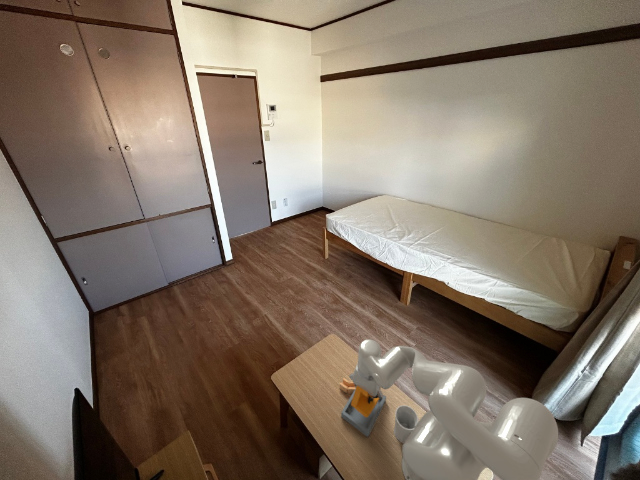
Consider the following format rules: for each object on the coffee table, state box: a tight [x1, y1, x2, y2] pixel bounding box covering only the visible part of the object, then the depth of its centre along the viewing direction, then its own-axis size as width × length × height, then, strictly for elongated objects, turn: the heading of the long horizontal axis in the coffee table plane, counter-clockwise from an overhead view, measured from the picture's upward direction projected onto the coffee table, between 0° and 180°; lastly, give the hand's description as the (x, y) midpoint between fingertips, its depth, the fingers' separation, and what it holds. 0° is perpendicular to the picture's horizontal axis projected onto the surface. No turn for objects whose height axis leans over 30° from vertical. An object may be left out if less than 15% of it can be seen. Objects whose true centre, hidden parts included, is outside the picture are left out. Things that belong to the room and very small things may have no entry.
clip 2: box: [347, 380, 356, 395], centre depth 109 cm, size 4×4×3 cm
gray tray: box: [340, 389, 387, 438], centre depth 102 cm, size 12×16×4 cm
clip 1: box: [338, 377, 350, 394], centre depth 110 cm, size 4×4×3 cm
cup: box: [393, 404, 420, 444], centre depth 92 cm, size 8×8×12 cm
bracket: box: [351, 386, 380, 417], centre depth 96 cm, size 11×7×12 cm, turn 138°
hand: (364, 395), depth 98 cm, fingers closed on bracket, 4 cm apart
